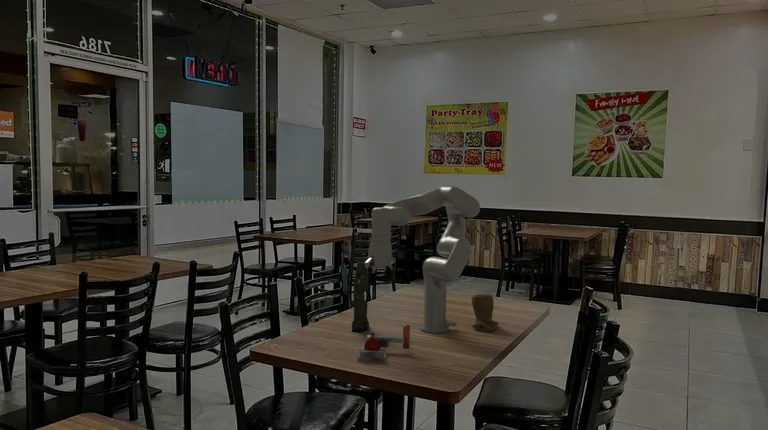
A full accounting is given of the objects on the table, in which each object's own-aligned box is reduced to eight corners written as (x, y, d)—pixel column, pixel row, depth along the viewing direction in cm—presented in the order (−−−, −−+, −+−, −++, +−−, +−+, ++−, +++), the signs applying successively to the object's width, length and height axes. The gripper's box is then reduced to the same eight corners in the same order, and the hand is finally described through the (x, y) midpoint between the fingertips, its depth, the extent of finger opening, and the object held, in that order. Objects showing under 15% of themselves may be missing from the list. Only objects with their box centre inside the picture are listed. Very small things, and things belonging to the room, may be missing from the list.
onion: (363, 354, 210) (363, 333, 210) (379, 354, 211) (379, 332, 210) (364, 359, 205) (364, 337, 204) (380, 359, 205) (380, 337, 205)
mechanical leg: (363, 332, 236) (368, 260, 241) (346, 331, 238) (352, 260, 243) (370, 332, 250) (375, 264, 255) (354, 331, 251) (359, 263, 256)
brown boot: (475, 322, 261) (476, 290, 260) (500, 326, 256) (501, 293, 255) (465, 330, 247) (466, 296, 246) (492, 334, 242) (493, 299, 241)
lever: (365, 346, 214) (365, 324, 213) (367, 343, 218) (367, 321, 218) (408, 349, 211) (409, 327, 211) (410, 346, 216) (410, 324, 215)
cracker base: (384, 347, 219) (385, 330, 219) (385, 361, 202) (386, 343, 202) (358, 347, 219) (359, 330, 219) (357, 361, 202) (357, 342, 202)
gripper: (388, 236, 235) (387, 277, 236) (358, 239, 222) (358, 282, 223) (402, 237, 230) (401, 279, 231) (373, 240, 217) (372, 285, 218)
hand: (380, 281), depth 227 cm, fingers open, 9 cm apart
